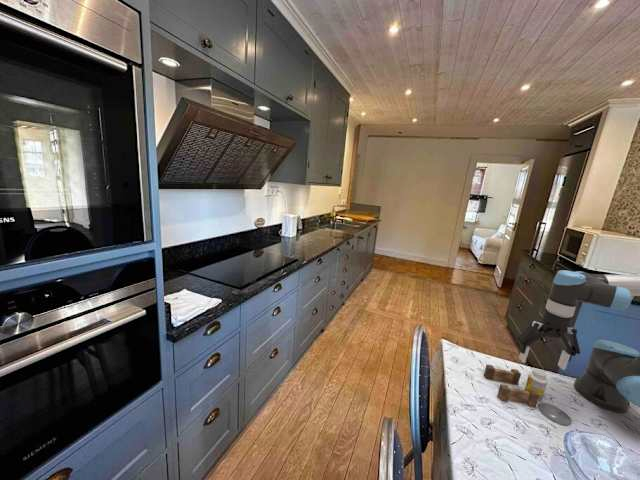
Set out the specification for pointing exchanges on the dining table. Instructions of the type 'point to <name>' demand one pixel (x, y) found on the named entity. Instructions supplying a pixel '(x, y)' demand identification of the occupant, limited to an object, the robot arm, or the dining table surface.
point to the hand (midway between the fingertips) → (541, 364)
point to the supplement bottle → (537, 382)
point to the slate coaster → (554, 414)
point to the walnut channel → (511, 393)
